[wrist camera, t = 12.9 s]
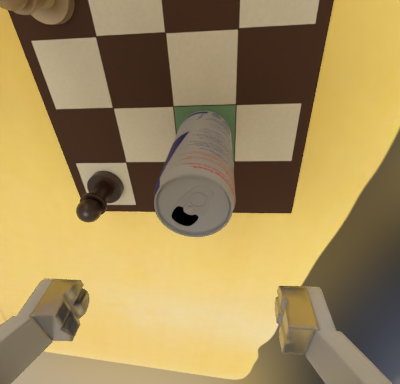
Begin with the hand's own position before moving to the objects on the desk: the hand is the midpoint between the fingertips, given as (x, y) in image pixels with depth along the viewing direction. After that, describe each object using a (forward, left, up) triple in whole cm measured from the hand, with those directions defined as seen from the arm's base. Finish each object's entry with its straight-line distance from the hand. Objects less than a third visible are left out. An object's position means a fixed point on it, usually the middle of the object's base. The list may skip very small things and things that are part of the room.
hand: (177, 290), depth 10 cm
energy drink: (0, 0, -18) cm, 18 cm away
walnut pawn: (+6, -12, -18) cm, 23 cm away
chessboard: (-3, -3, -18) cm, 19 cm away
